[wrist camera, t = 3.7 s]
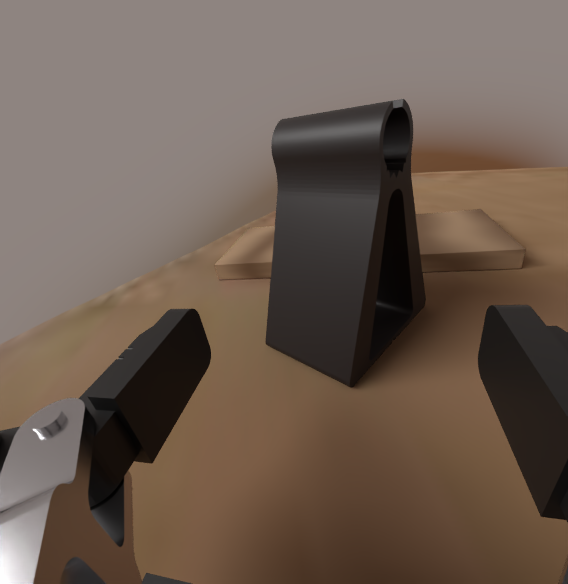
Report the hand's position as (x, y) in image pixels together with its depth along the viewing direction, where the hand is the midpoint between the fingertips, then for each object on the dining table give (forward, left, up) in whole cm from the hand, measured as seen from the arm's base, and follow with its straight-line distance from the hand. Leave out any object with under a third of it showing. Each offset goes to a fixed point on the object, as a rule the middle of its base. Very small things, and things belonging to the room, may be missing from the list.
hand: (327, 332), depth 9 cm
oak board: (0, -21, -7) cm, 22 cm away
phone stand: (0, -9, -7) cm, 12 cm away
